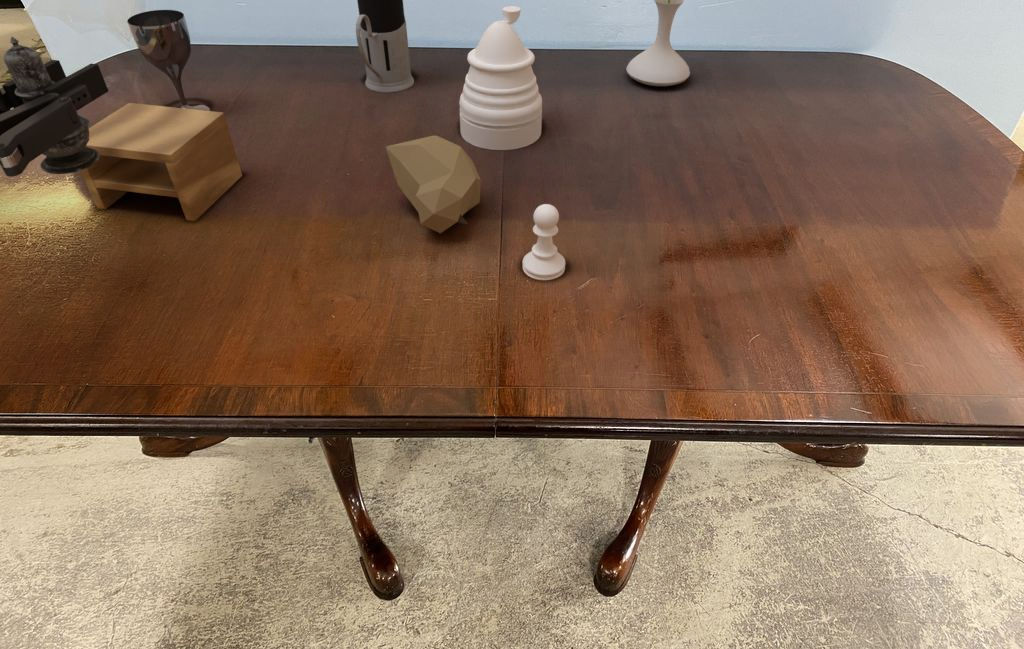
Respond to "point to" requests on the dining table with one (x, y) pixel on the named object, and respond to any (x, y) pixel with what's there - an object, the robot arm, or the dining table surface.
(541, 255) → the chess pawn
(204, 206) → the shelf
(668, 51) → the flower in vase
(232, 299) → the dining table surface
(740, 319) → the dining table surface
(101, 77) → the robot arm
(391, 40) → the glass holder
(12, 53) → the grey chess piece
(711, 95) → the dining table surface
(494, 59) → the honey pot
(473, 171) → the low-poly potato
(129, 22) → the wine glass
